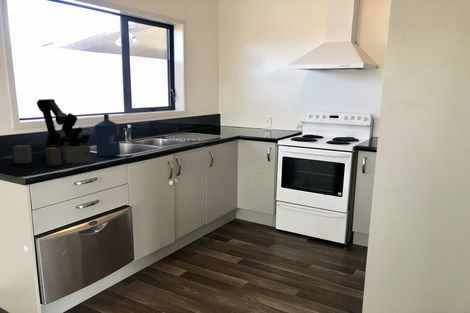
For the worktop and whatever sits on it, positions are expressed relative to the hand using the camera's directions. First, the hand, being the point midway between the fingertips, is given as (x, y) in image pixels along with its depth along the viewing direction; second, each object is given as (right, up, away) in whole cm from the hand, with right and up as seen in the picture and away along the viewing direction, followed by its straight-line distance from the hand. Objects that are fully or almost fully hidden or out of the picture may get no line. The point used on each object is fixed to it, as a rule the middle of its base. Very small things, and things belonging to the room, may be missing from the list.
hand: (79, 150), depth 228 cm
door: (0, -7, -3) cm, 8 cm away
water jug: (+10, -3, +26) cm, 28 cm away
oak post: (-12, -9, -7) cm, 16 cm away
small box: (-34, -8, -1) cm, 35 cm away
